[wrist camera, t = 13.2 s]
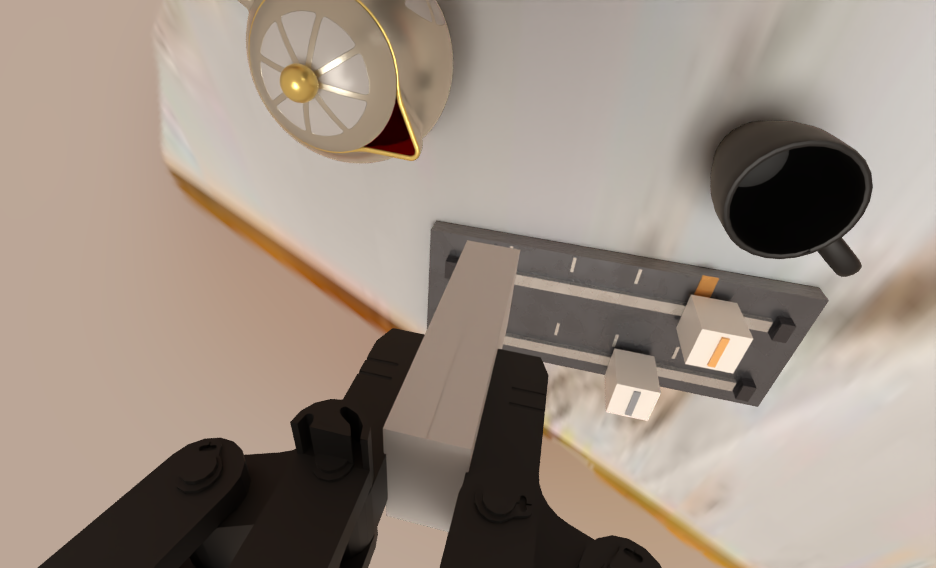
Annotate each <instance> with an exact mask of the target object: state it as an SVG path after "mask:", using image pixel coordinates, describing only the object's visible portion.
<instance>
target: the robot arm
mask: <svg viewBox="0 0 936 568" xmlns="http://www.w3.org/2000/svg"><path fill="white" fill-rule="evenodd" d="M519 254H520V250H519V249H513V248H508V247H502V246H496V245H491V244H485V243H479V242H474V241H468V240H467V242H466V244H465V247H464V249H463V251H462V253H461V255H460V258H459V260H458V262H457V264H456V267H455V269H454V271H453V273H452V276H451V278H450V280H449V282H448V284H447V287H446V289H445V291H444V293H443V296H442V298H441V300H440V302H439V304H438V307H437V309H436V311H435V313H434V316H433V318H432V320H431V322H430V325H429V327H428V329H427V331H426V333H425V335H424V334H419V333H414V332H409V331H405V330H400V329H395V328H393V329H391V330H390V331H389V332H387V333H386V334H385V335H383V336H382V337H381V338H380V339H378V340H377V341H376V343H375V344H374V346H373V348H372V350H371V351H370V353H369V355H368V357H367V360H365V362H364V363H363V365H362V367H361V369H360V372H359V374H357V376H356V377H355V379H354V381H353V383H352V385H351V386H350V388H349V390H348V392H347V393H346V395H345V397H344V399H343V400H337V399H330V400H325V401H321V402H317V403H314V404H312V405H311V406H308V407H307V408H305V409H303V410H302V411H300V412H299V413H298V414H297V415H296V417H295V418H294V419H293V420H292V421H291V422H290V423H291V427H292V432H293V437H294V441H295V446H296V449H294V450H292V451H286V452H280V453H266V454H252V455H244V454H243V451H242V450H241V448H240V447H239V446H238V445H237V444H236V443H234V442H233V441H230V440H227V439H223V438H209V439H203V440H200V441H197V442H194V443H191V444H188V445H187V446H185V447H184V448H182V449H180V450H179V451H177V452H176V453H174V454H173V455H172V456H170V457H169V458H168V459H167V460H166V461H164V462H163V463H162V464H161V465H160V466H158V467H157V468H156V469H155V470H154V471H152V472H151V473H150V474H149V475H148V476H146V477H145V478H144V479H143V480H142V481H140V482H139V483H138V484H137V485H136V486H135V487H133V488H132V489H131V490H130V491H129V492H127V493H126V494H125V495H124V496H123V497H121V498H120V499H119V500H118V501H117V502H115V503H114V504H113V505H112V506H111V507H110V508H108V509H107V510H106V511H105V512H103V513H102V514H101V515H100V516H99V517H97V518H96V519H95V520H94V521H93V522H92V523H90V524H89V525H88V526H87V527H86V528H85V529H83V530H82V531H81V532H80V533H78V534H77V535H76V536H75V537H74V538H72V539H71V540H70V541H69V542H68V543H67V544H65V545H64V546H63V547H62V548H61V549H59V550H58V551H57V552H56V553H55V554H54V555H52V556H51V557H50V558H49V559H47V560H46V561H45V562H44V563H43V564H42V565H40V566H39V567H38V568H368V566H369V564H370V561H371V558H372V555H373V553H374V550H375V547H376V541H377V536H378V532H377V526H378V523H379V521H380V518H381V515H382V513H383V510H384V507H385V505H386V515H387V516H390V517H393V518H397V519H401V520H405V521H409V522H413V523H416V524H420V525H424V526H427V527H432V528H435V529H439V530H443V531H447V532H449V533H448V537H447V541H446V545H445V549H444V553H443V557H442V560H441V564H440V568H661V566H660V564H659V563H658V562H657V561H656V560H655V559H654V557H653V556H652V555H651V554H650V553H649V552H648V551H647V550H646V549H645V548H643V547H642V546H640V545H638V544H636V543H635V542H633V541H631V540H629V539H627V538H622V537H617V536H613V535H612V536H607V537H602V538H598V539H596V540H594V539H592V538H591V537H589V536H587V535H586V534H584V533H582V532H581V531H579V530H578V529H576V528H574V527H573V526H571V525H569V524H568V523H567V522H565V521H564V520H563V519H561V518H560V517H558V516H557V514H556V513H555V512H554V511H553V510H552V509H551V508H550V507H549V505H548V504H547V502H546V500H545V498H544V496H543V495H542V491H541V488H540V485H539V466H540V456H541V445H542V435H543V425H544V415H545V414H544V412H545V405H546V394H547V384H548V373H547V371H546V369H545V366H544V364H543V361H542V359H541V357H537V356H532V355H527V354H522V353H517V352H513V351H508V350H503V349H502V347H503V343H504V338H505V334H506V330H507V325H508V319H509V313H510V307H511V301H512V295H513V289H514V283H515V278H516V272H517V266H518V260H519Z"/></svg>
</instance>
